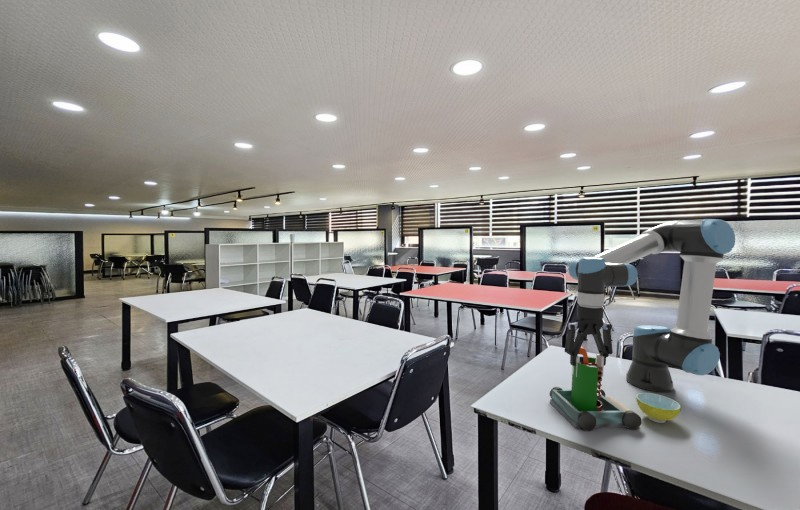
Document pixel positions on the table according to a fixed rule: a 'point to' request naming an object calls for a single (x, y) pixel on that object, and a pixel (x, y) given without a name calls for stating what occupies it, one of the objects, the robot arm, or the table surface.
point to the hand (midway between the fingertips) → (587, 375)
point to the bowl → (658, 407)
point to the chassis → (594, 412)
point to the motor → (586, 384)
